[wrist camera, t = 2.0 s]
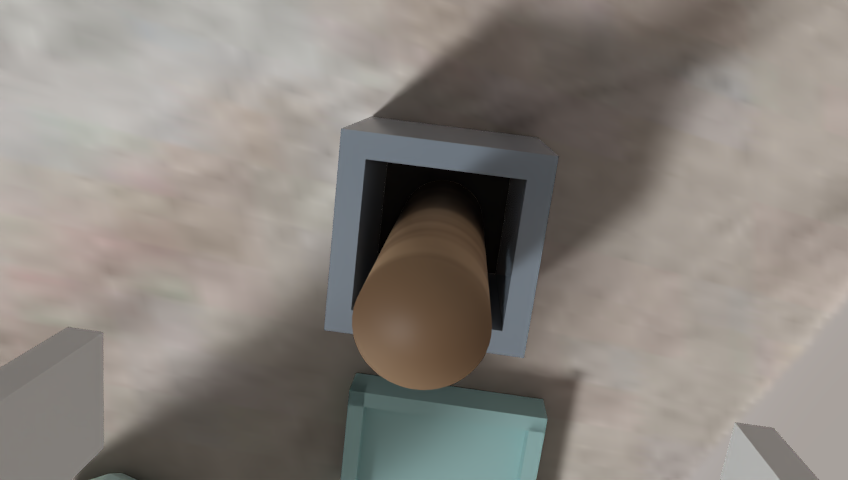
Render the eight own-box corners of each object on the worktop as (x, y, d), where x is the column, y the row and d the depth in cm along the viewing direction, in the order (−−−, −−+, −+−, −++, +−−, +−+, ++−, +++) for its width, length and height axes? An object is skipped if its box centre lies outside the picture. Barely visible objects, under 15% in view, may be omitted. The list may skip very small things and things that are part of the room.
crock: (371, 116, 31) (341, 128, 23) (537, 137, 30) (558, 156, 23) (356, 274, 33) (323, 330, 25) (511, 295, 32) (523, 357, 25)
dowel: (406, 175, 31) (358, 249, 18) (487, 185, 31) (502, 268, 18) (398, 253, 32) (345, 379, 19) (476, 263, 32) (481, 399, 19)
